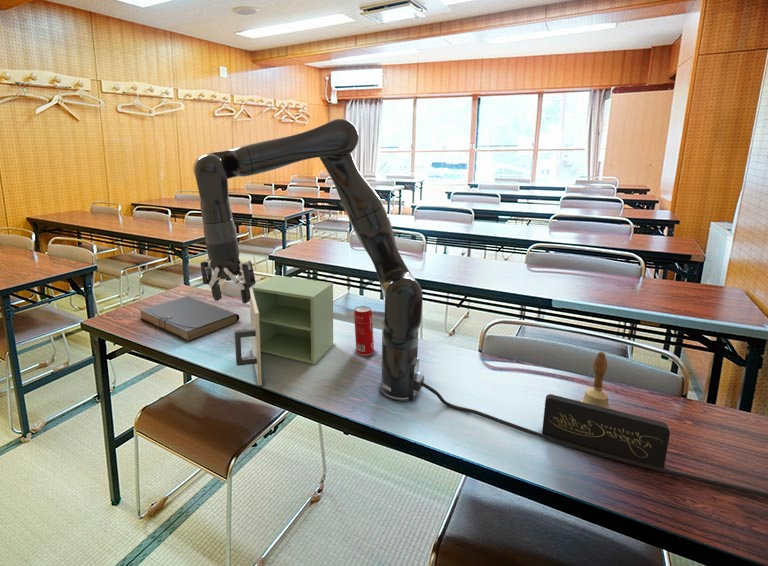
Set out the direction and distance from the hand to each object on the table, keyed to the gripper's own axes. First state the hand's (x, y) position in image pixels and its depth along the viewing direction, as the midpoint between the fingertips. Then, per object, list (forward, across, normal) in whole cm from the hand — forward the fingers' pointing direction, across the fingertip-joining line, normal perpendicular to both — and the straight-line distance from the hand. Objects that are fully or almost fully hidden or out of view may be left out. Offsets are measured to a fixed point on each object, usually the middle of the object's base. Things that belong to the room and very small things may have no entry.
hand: (232, 300), depth 106 cm
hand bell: (+37, -79, -32) cm, 93 cm away
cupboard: (+32, +4, -33) cm, 46 cm away
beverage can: (+34, -18, -39) cm, 55 cm away
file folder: (+30, +52, -37) cm, 71 cm away
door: (+30, +10, -14) cm, 35 cm away
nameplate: (+36, -78, -16) cm, 87 cm away
